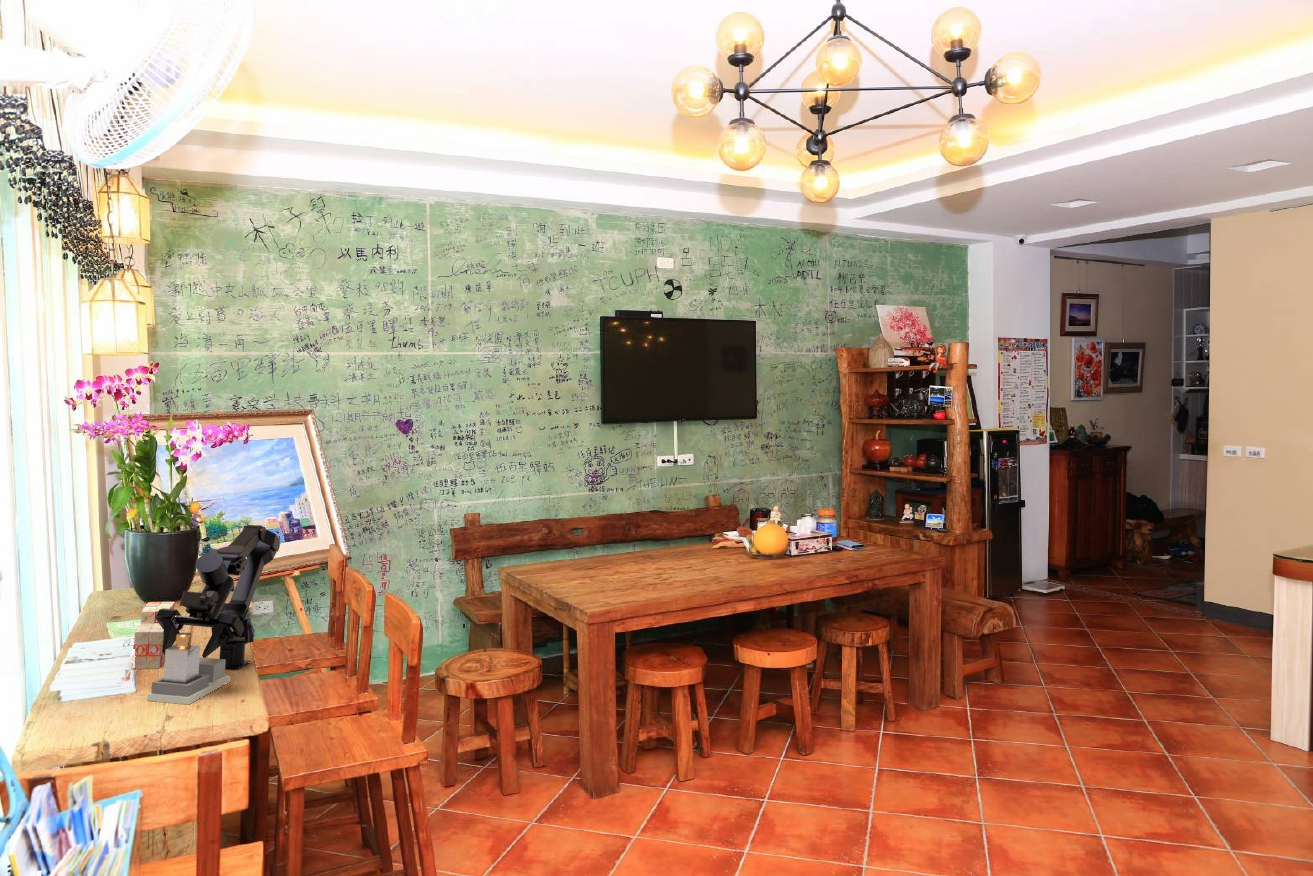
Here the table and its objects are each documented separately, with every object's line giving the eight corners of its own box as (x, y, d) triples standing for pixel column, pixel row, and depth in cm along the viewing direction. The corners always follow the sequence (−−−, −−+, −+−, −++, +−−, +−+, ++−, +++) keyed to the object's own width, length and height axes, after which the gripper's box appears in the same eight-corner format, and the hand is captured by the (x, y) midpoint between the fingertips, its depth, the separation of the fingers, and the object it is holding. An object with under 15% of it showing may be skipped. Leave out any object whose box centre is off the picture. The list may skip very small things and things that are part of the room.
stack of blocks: (160, 669, 217) (163, 619, 217) (131, 670, 215) (134, 619, 215) (172, 646, 237) (175, 600, 237) (145, 647, 235) (148, 601, 235)
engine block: (176, 685, 201) (179, 630, 201) (197, 687, 201) (201, 632, 201) (162, 692, 196) (166, 636, 196) (184, 694, 196) (188, 638, 196)
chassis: (191, 679, 211) (193, 656, 211) (230, 682, 211) (231, 659, 211) (147, 700, 194) (148, 675, 194) (188, 704, 194) (190, 679, 194)
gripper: (162, 573, 204) (128, 632, 193) (241, 580, 203) (211, 640, 193) (180, 600, 212) (148, 658, 202) (256, 607, 211) (228, 666, 201)
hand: (183, 655), depth 199 cm, fingers open, 9 cm apart
